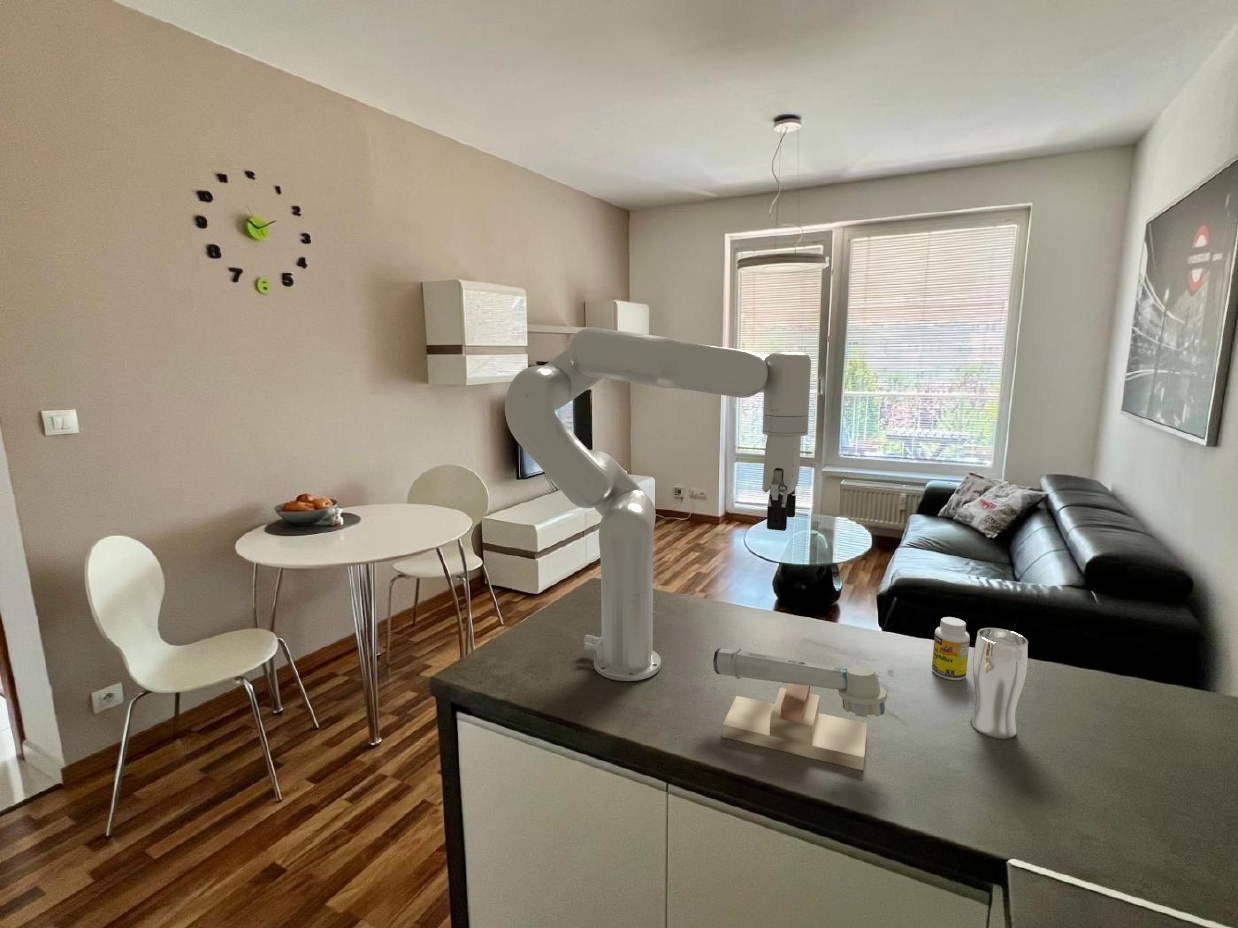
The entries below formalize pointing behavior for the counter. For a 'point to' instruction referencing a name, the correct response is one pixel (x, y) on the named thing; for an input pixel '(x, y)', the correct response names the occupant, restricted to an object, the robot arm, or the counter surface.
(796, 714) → the stepped podium stack
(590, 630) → the counter surface
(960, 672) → the supplement bottle
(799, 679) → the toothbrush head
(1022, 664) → the beer glass
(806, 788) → the counter surface
